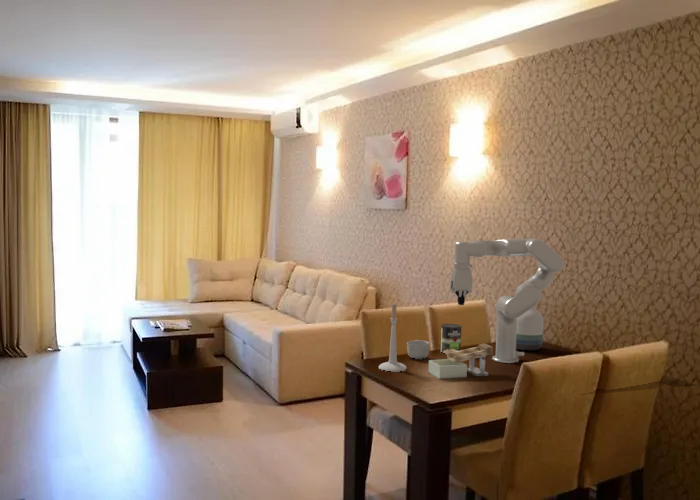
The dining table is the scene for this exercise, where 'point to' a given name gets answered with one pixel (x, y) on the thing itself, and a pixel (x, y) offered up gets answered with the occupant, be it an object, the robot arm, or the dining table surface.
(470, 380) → the dining table surface
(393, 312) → the candlestick
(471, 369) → the lever stand
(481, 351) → the lever
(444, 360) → the pale green open box
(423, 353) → the teacup
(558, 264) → the robot arm
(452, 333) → the coffee can
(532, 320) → the vase
